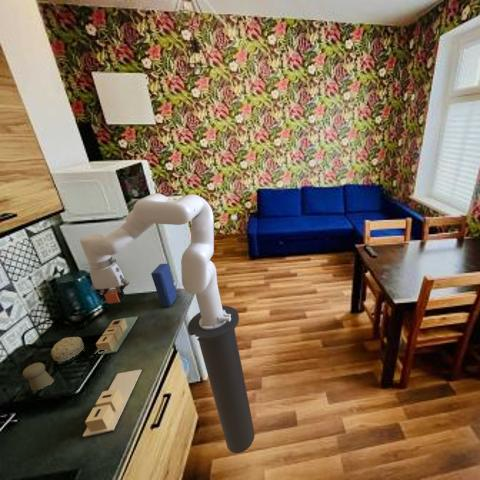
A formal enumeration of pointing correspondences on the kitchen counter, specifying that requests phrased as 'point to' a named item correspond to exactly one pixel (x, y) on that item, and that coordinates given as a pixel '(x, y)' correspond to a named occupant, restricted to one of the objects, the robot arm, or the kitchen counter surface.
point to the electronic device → (164, 285)
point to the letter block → (112, 296)
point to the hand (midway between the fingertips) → (115, 299)
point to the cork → (37, 376)
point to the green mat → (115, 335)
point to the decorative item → (67, 348)
